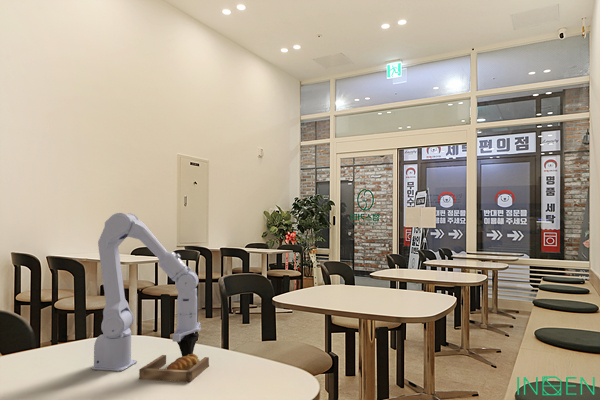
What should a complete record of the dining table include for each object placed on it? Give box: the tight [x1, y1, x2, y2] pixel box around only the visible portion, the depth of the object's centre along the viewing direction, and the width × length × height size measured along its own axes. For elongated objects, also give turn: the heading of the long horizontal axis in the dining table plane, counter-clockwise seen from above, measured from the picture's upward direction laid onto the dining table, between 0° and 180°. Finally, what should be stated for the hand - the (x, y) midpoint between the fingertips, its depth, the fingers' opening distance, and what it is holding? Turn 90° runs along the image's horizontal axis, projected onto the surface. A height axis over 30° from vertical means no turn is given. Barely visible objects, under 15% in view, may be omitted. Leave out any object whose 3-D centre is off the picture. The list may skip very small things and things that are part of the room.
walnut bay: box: [138, 354, 210, 383], centre depth 115 cm, size 14×12×2 cm
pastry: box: [166, 353, 201, 371], centre depth 116 cm, size 9×7×4 cm
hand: (187, 359), depth 122 cm, fingers closed
